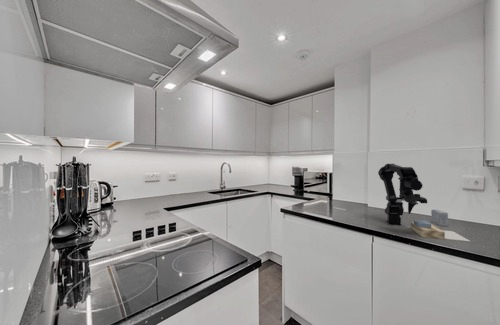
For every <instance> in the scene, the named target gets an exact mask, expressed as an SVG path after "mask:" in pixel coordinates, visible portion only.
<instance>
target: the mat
mask: <svg viewBox="0 0 500 325" xmlns="http://www.w3.org/2000/svg"><path fill="white" fill-rule="evenodd" d="M441 230H442V229H441ZM442 231H444V232H445V239H444V240H449V241H461V242H471V240H469V239H468V238H465V237H464V236H463V235H460V234H458V233H457V232H454V231H453V230H442Z"/></svg>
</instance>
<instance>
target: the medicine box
mask: <svg viewBox="0 0 500 325" xmlns="http://www.w3.org/2000/svg"><path fill="white" fill-rule="evenodd" d="M430 214H431V223H433V224H436V225H439V226H441V227H443V226H444V227H448V226H449V214H448V212H446V211H444V210H441V209H431V212H430Z"/></svg>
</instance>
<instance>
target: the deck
mask: <svg viewBox="0 0 500 325" xmlns="http://www.w3.org/2000/svg"><path fill="white" fill-rule="evenodd" d="M430 224H431V228H420V227H417V226H416V225H414V221H410V229H411V230H412V231H414V232H415V233H416V234H417V235H419V236H420V237H422V238H430V239H441V240H446V239H445V232H444V231H445V230H444V231H442V229H440V228H439V227H438V226H435V225H434V224H432V223H430Z"/></svg>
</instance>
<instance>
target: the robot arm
mask: <svg viewBox="0 0 500 325" xmlns="http://www.w3.org/2000/svg"><path fill="white" fill-rule="evenodd" d="M377 173H378V174H377V175H378V176H379V179H380V180H382V182H383V184H384V189H385V192H386V196H385V200H386V201H387V204H386V207H385V209H384V214H385V215H387V217H386V218H387V219H386V222H387V224H389V225H395V226H402V224H401V222H402V220H401V219H402V217H401V216H404V210H405V208H404V202H405V203H407V213H408V214H411V212H412V211H413V208H414V207H415V206H417V205H418V204H419V203H420V204H428V199H427V198H426V197H423V196H421V194H420V193H414V191H420V190H421V189H423V183H422V182H421V181H420V180H419V177H418V175H417V173H416V170H415V169H414V168H413V167H412V166H410V167H409V166H401V165H398V164H395V163H386V164H385V165H384V166H382V167H380V168H379V170H378V172H377ZM395 173H396V175H397V176H398V180H399V196H397V194H396V191H395V187H394V183H393V178H394V174H395ZM418 202H419V203H418Z"/></svg>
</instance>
